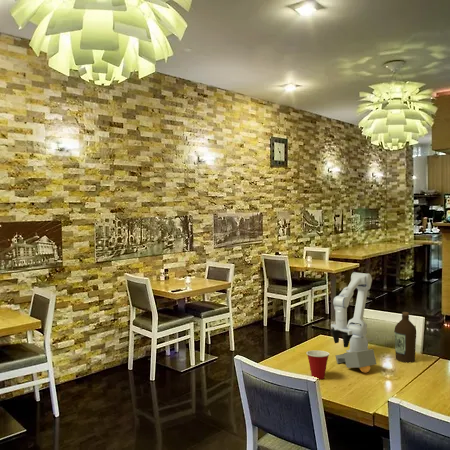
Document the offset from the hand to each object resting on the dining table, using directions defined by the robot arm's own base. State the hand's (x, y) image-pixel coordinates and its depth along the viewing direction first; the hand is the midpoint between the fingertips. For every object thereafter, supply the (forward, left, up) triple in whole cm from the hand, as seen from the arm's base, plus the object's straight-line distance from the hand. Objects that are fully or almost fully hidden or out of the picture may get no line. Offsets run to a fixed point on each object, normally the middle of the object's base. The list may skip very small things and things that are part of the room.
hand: (341, 344), depth 230 cm
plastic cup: (+24, +13, -9) cm, 29 cm away
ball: (0, +18, -6) cm, 19 cm away
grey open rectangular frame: (0, +11, -7) cm, 14 cm away
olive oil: (-31, +13, -9) cm, 35 cm away
